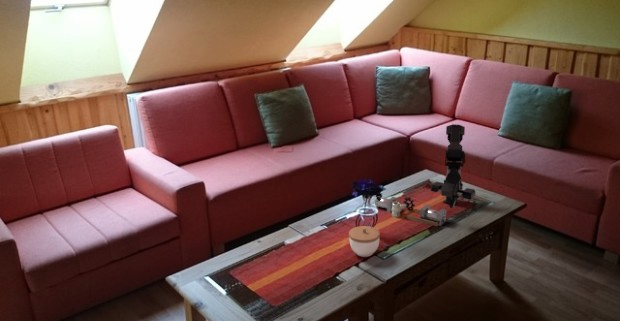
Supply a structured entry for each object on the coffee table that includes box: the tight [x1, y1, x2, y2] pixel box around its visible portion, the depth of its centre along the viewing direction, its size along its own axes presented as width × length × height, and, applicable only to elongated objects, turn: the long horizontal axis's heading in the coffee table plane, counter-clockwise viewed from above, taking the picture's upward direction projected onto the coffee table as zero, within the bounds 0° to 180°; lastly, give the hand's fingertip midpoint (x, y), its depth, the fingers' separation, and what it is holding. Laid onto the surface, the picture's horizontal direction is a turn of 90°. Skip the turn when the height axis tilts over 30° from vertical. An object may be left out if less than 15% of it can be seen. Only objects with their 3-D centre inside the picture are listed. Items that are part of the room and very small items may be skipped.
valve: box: [391, 196, 416, 218], centre depth 249 cm, size 7×7×12 cm
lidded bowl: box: [348, 225, 381, 258], centre depth 214 cm, size 13×13×11 cm
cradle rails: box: [406, 208, 439, 227], centre depth 243 cm, size 9×15×2 cm, turn 53°
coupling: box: [419, 204, 447, 226], centre depth 240 cm, size 10×6×6 cm, turn 53°
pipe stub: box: [374, 196, 398, 214], centre depth 255 cm, size 9×6×6 cm, turn 53°
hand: (451, 207), depth 233 cm, fingers closed
